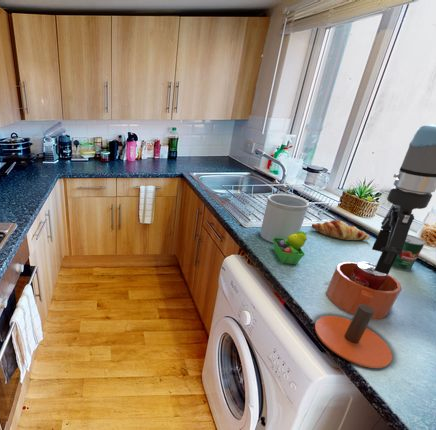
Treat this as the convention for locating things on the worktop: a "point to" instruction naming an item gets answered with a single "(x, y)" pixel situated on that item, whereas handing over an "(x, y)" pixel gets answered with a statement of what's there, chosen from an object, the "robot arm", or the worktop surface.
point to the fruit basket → (290, 247)
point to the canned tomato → (408, 253)
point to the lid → (354, 339)
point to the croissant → (340, 230)
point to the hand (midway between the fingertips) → (379, 260)
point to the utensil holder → (283, 216)
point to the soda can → (368, 276)
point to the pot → (361, 292)
